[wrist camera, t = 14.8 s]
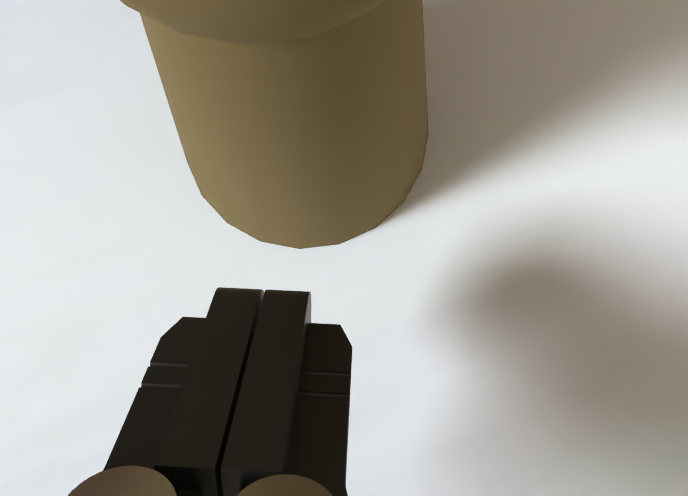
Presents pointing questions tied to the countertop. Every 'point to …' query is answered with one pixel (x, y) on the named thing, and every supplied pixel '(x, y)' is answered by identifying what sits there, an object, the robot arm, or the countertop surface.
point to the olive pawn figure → (295, 109)
